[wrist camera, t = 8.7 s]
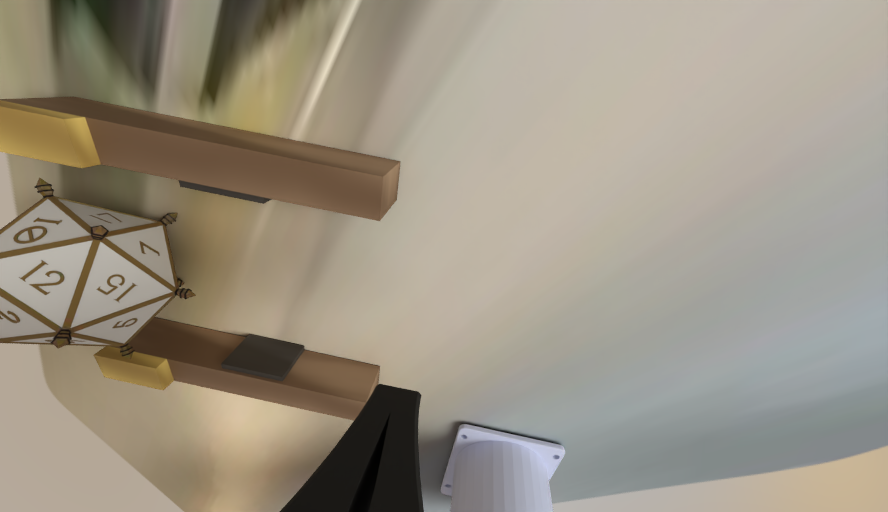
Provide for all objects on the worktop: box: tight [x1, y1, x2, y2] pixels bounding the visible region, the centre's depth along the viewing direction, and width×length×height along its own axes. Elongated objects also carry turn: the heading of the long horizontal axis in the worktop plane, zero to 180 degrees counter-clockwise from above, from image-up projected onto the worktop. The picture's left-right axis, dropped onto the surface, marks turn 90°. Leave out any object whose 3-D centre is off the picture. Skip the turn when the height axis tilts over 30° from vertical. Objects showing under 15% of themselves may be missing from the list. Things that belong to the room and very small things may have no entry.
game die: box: [0, 178, 196, 359], centre depth 17 cm, size 9×8×10 cm
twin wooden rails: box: [0, 97, 400, 420], centre depth 19 cm, size 16×17×4 cm
